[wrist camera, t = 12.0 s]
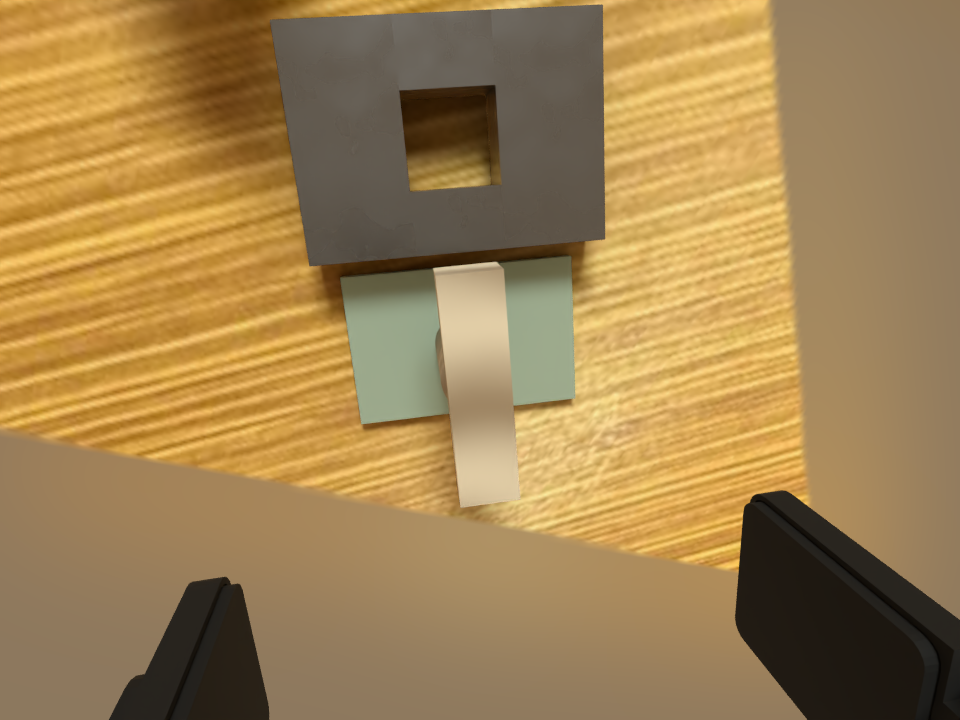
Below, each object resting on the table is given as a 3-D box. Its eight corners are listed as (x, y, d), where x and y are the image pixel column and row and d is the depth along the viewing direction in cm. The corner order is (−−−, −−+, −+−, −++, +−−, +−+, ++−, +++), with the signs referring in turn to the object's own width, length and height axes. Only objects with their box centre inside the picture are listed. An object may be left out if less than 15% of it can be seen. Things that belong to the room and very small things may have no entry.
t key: (424, 250, 29) (429, 276, 22) (483, 244, 29) (509, 268, 22) (445, 430, 32) (455, 508, 25) (498, 423, 32) (524, 498, 25)
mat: (362, 420, 32) (361, 424, 31) (341, 276, 30) (340, 277, 29) (572, 394, 33) (575, 398, 33) (568, 255, 31) (571, 256, 30)
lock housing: (318, 258, 29) (309, 266, 26) (283, 37, 26) (269, 19, 23) (585, 234, 31) (604, 239, 28) (581, 23, 28) (602, 4, 25)
